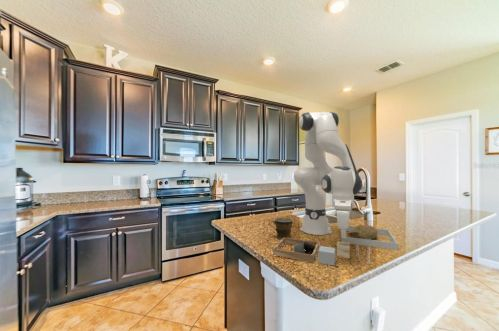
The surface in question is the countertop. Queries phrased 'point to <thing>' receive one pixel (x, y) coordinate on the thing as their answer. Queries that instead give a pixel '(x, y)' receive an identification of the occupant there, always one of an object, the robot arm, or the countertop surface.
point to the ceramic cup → (283, 227)
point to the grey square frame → (373, 243)
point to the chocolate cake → (306, 246)
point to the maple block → (343, 249)
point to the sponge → (363, 232)
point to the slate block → (327, 255)
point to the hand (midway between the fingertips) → (343, 234)
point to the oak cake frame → (295, 254)
